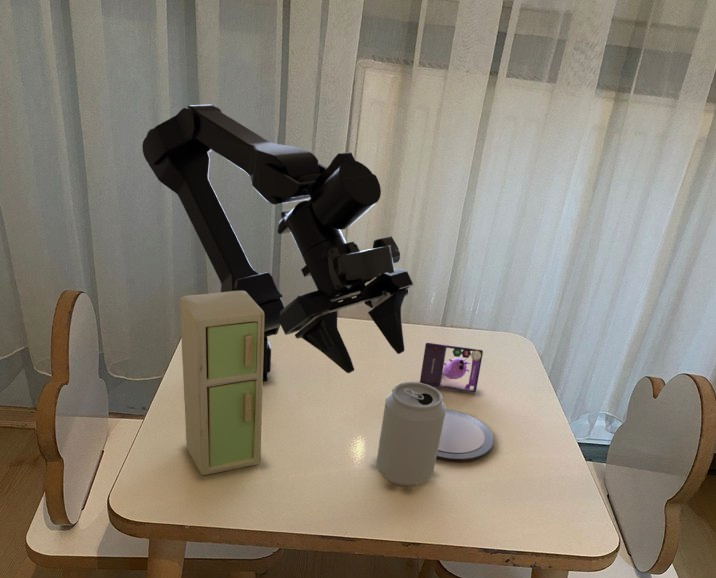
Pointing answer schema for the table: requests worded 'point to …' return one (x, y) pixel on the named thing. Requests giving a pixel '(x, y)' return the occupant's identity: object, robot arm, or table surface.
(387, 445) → the can
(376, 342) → the table surface
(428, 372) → the game card
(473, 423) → the coaster
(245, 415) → the toy refrigerator
